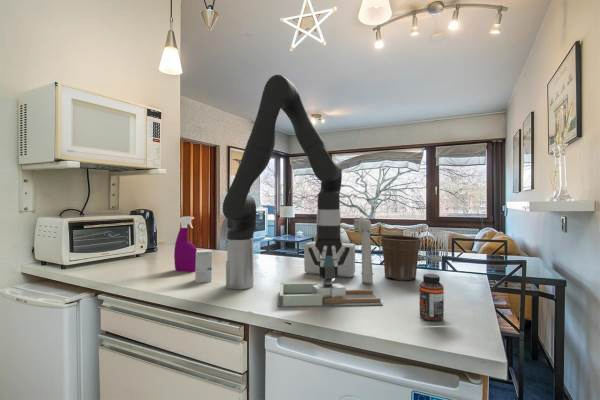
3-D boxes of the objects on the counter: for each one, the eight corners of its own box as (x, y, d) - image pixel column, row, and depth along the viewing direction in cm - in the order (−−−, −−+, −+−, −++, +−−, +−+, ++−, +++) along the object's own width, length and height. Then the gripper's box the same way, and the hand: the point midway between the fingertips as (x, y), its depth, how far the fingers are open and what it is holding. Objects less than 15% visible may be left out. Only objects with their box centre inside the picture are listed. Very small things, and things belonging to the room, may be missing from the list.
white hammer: (371, 285, 115) (370, 217, 115) (353, 283, 118) (353, 216, 118) (374, 282, 120) (374, 216, 120) (357, 280, 123) (357, 216, 123)
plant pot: (412, 272, 136) (412, 235, 136) (429, 282, 120) (428, 239, 120) (375, 272, 136) (375, 235, 136) (386, 282, 119) (386, 240, 119)
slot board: (277, 307, 92) (277, 302, 92) (278, 293, 106) (278, 289, 106) (382, 305, 93) (382, 300, 93) (370, 291, 107) (370, 287, 107)
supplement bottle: (415, 313, 86) (415, 272, 86) (436, 313, 87) (436, 272, 87) (426, 322, 80) (425, 278, 80) (448, 321, 81) (448, 277, 81)
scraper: (321, 287, 105) (325, 282, 95) (320, 270, 107) (324, 263, 97) (330, 287, 105) (335, 282, 95) (329, 270, 107) (334, 263, 97)
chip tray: (279, 306, 92) (279, 295, 92) (280, 292, 106) (280, 283, 106) (322, 305, 92) (322, 295, 92) (317, 291, 106) (317, 282, 106)
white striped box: (303, 274, 133) (303, 227, 133) (310, 270, 140) (310, 225, 140) (352, 279, 125) (352, 228, 125) (356, 274, 132) (356, 227, 132)
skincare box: (195, 284, 117) (194, 252, 117) (196, 281, 122) (196, 250, 122) (212, 283, 119) (212, 251, 119) (212, 280, 123) (212, 249, 123)
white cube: (317, 302, 95) (316, 288, 95) (312, 297, 100) (311, 285, 100) (330, 300, 97) (330, 287, 97) (325, 296, 101) (325, 283, 101)
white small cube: (332, 301, 96) (332, 288, 96) (326, 297, 100) (326, 284, 100) (345, 300, 97) (345, 287, 97) (339, 295, 101) (339, 283, 101)
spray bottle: (177, 271, 139) (177, 216, 139) (198, 272, 136) (198, 216, 136) (172, 272, 136) (172, 216, 137) (194, 274, 133) (194, 216, 134)
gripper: (307, 224, 95) (307, 281, 95) (353, 224, 96) (352, 281, 96) (305, 222, 103) (305, 275, 103) (348, 222, 104) (347, 275, 104)
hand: (328, 277), depth 99 cm, fingers closed on scraper, 3 cm apart
